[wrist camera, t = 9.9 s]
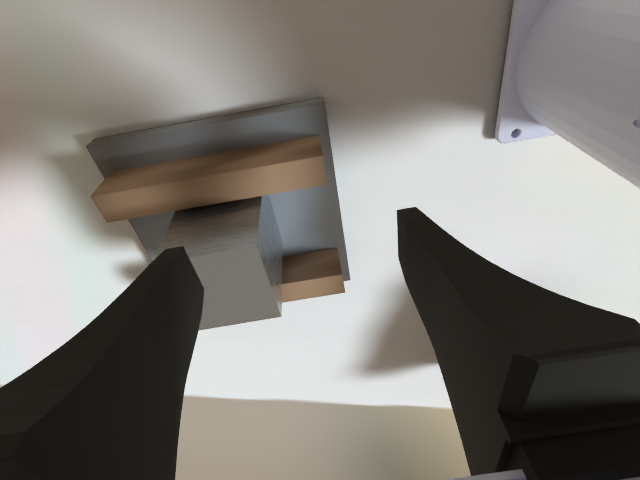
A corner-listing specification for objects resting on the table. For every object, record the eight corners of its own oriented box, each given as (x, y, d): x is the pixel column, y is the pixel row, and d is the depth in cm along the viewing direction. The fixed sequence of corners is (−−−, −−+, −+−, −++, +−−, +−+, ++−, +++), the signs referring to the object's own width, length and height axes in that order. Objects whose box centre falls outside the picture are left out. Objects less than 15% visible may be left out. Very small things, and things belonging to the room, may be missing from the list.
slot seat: (323, 97, 19) (329, 121, 16) (348, 270, 26) (355, 307, 23) (94, 138, 19) (61, 169, 16) (182, 297, 26) (170, 336, 24)
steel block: (263, 177, 20) (256, 245, 15) (282, 241, 23) (281, 316, 18) (183, 192, 20) (151, 264, 15) (211, 253, 23) (192, 331, 18)
